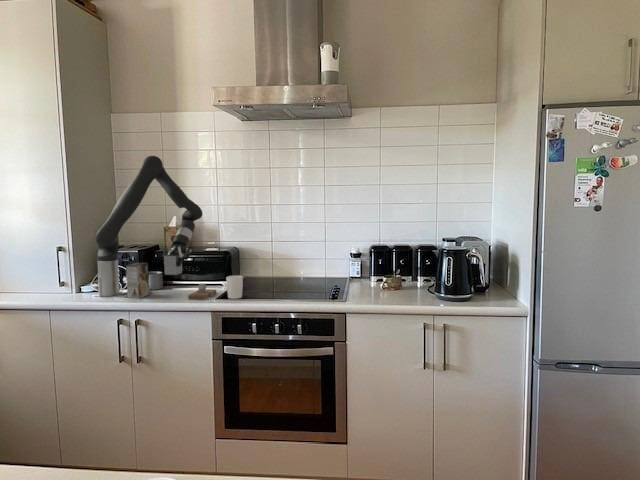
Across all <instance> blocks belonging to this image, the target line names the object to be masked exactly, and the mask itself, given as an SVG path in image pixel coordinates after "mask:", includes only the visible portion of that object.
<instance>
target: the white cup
mask: <svg viewBox="0 0 640 480" xmlns="http://www.w3.org/2000/svg"><path fill="white" fill-rule="evenodd" d="M243 279H244V276H242V275H228V276H226V277H225V280H226V281H225V282H226V292H227V298H228V299H230V300H231V299H232V300H235V299H237V300H239V299H242V298H243V287H244V286H243V284H244V280H243Z"/></svg>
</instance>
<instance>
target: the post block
mask: <svg viewBox="0 0 640 480" xmlns="http://www.w3.org/2000/svg"><path fill="white" fill-rule="evenodd" d="M216 294H217V289H212V288H211V289H210V288H209V289H208V288H207V285H206V283H199V284H198V290H196V291H194V292H192V293H190V294H188V295H187V299H188V300H192V301H193V300H198V301H205V300H206V299H209V298H210V297H212V296H215V295H216Z"/></svg>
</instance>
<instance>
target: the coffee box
mask: <svg viewBox="0 0 640 480" xmlns="http://www.w3.org/2000/svg"><path fill="white" fill-rule="evenodd" d="M125 270H126V273H125V274H126V291H127V292H126V293H127V299H137V300H138V299H141V298H143V297H144V298H145V297H146V296H149V295H150V280H149V279H150V276H149V275H150V274H149V263H148V262H134V263H130V264H125Z"/></svg>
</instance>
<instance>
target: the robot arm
mask: <svg viewBox="0 0 640 480" xmlns="http://www.w3.org/2000/svg"><path fill="white" fill-rule="evenodd" d="M163 164H164V163H163V161H162V159H161V158H160V157H159V156H156V155H149V156H146V158H144V159H143V161H142V165H141V166H140V167H141V168H140V169H139V171H138V173H137V175H136V176H135V177H134V179H133V180H132V181H131V182H130V183H129V184H128V186H127V187H126V188H125V189H124V191H123V192H122V193H121V195H120V197H119V199H117V201H116V203H115V205H114V207H113V208H112V211H111V213H110V215H109V216H108V218H107V220H106V221H105V222H104V223H103V224H102V226H101V227H100V228H99V230H98V231H97V232H95V233H96V234H95V238H94V239H95V242H96V244H97V256H96V257H97V258H96V260H97V261H96V262H97V284H98V295H99V297H111V296H117V295H119V294H120V277H119V273H120V272H119V238H118V237H119V236H118V235H119V234H120V232H121V230H122V228H123V226H124V225H125V224H126V222H128V220H129V219H130V218H131V217H132V216H133V214H134V213H135V212H136V211H137V209H138V207H139V206H140V204H141V203H142V201H143V199H144V197H145V195H146V193H147V191H148V189H149V188H150V186H151V184H152V182H153V181H154V179H155V181H156V182H157V183H158V184H159V185H160V186H161V188H162V189H163V190H164V191H165V193H166V194H167V195H168V197H169V198H170V200H172V202H173V203H174V204H175V206H177V208H178V209H185V210H184V212H183V214H182V216H181V224H180V226H179V228H178V229H177V232H176V233H175V236H174V239H173V240H172V244H171V246H170V247H167V246H165V247H164V248H163V252H162V257H163V259H164V256H166V255H171V254H178V255H180V258H179V259H178V262H177V266H178V267H180V266H181V264H182V265H183V262H184V260H185V261H187V260H189V257H190V255H191V254H192V253H193V250H192V248H191V247H189V244H190V242H191V241H192V237H193V234H194V230H195V228H196V224H195V221H197V220H200V219H201V218H202V217H203V210H202V209H201V207H200V206H199V205H198V204H196V203H195V202H194V201H193V200H191V199H190V198H189V197H188V196H187V194H186V193H185V192H184V191H183V189H181V187H180V186H179V185H178V184H177V183H176V182H175V181H174V180H173V179H172V178H171V177H170V175H169V173H167V171H166V169H165V167H164V165H163ZM163 264H164V261H163Z"/></svg>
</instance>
